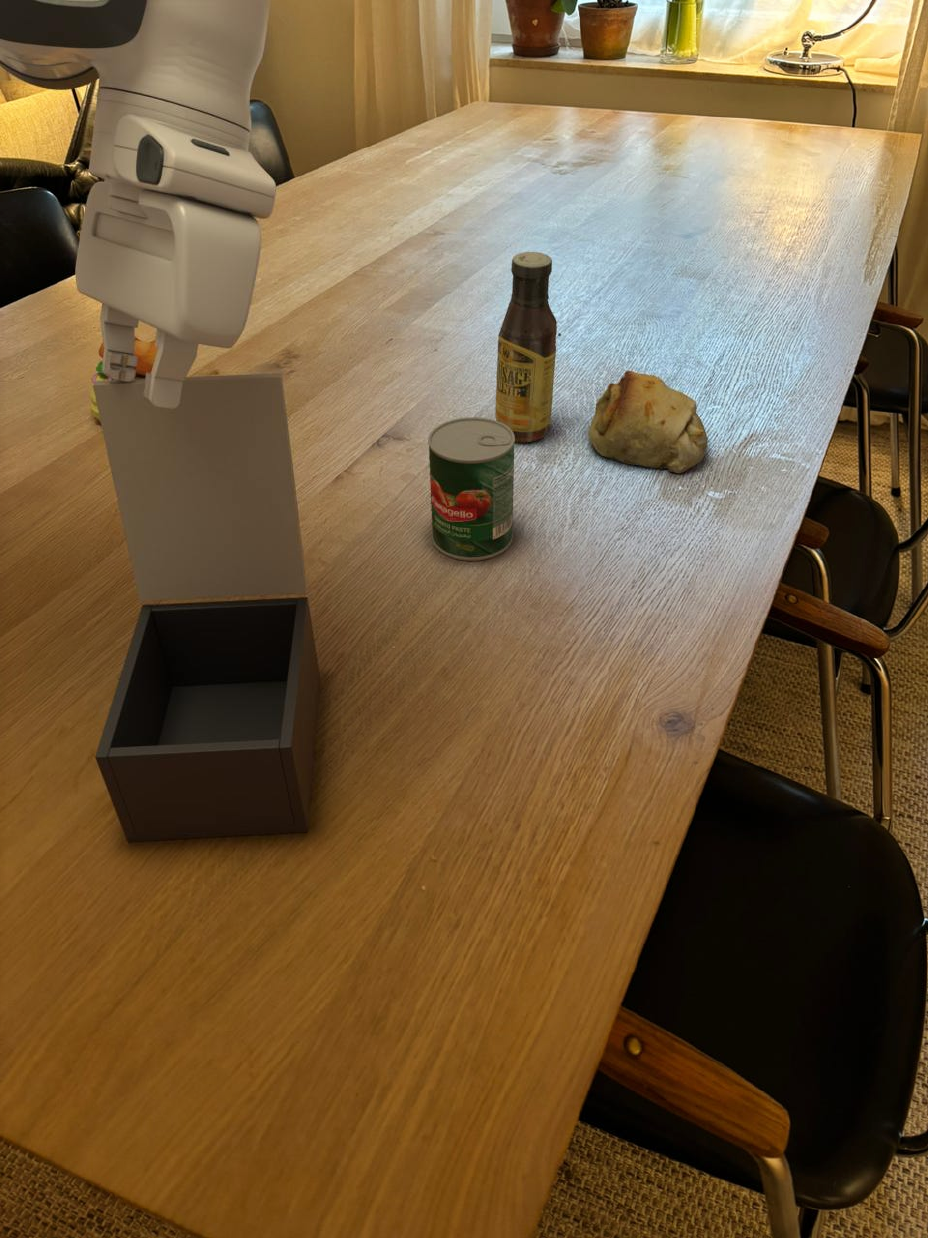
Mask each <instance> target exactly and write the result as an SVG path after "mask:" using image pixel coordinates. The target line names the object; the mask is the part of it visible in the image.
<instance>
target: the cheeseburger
mask: <svg viewBox="0 0 928 1238" xmlns="http://www.w3.org/2000/svg"><path fill="white" fill-rule="evenodd" d="M155 340H156V338H155V339H153V340H152V341H144V340H140V338H137V336H135V335H134V355H135V356H137V357H138V360H137V367H136V369H135V372H136V374H135V378H134V379H145V378H146V372H147V373H151V372H152V368H153V365H154V361H155V358H156V355H157V351H158V348H156V347H155ZM103 355H104V346H103V342H101V344H100V347H99V349H98V356H99V357H100V358H102V359H103ZM102 364H103V360H100V361H99V363H97V366H96V367H95V371H96V373H95V374H93V375H92V377H91V388H90V389H89V390H90V391H89V397H90V400H91V405H90V410H91V413H92V415H93V417H95V419H97V420H98V421H99V422H100V423H101V421H100V416H99V411H98V407H97V402H96V397H95V393H94V388H93V384H94V383H95V382H96V381H107V380H113V379H111V378H110V377H107V376H106V375H105V374H104V373H103V372H102Z"/></svg>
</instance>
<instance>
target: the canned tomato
mask: <svg viewBox="0 0 928 1238" xmlns="http://www.w3.org/2000/svg"><path fill="white" fill-rule="evenodd" d="M515 443H516V441H515V435H514V433H513V431H512V430H511V429H510V428H509V427H508V426H506V425H505V424H503V423H501V422H499V421H496V419H492V418H486V417H479V416H472V417H471V416H467V417H458V418H454V419H450V420H447V421H445V422H442V423H441V424H439V425H436V427H435V428H433V429H432V430H431V432H430V433H429V435H428V438H427V445H428V460H429V482H430V483H429V484H430V505H431V508H430V510H431V511H430V512H431V528H432V529H431V530H432V533H431V540H432V543H433V545H434V547H435V548H436V550H437V551H439V552H440V553H441V554H443V555H445V556H446V557H449V558H451V559H455V560H458V561H466V562H477V561H484V560H485V561H486V560H488V559H492V558H495V557H496V556H499V555H501V554H503V553H504V552H505V551H507V550H508V548H509V547H510V546H511V544H512V543H513V539H514V533H513V526H514V524H513V523H514V489H515V484H514V481H515V477H514V476H515Z"/></svg>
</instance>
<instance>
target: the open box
mask: <svg viewBox="0 0 928 1238" xmlns="http://www.w3.org/2000/svg"><path fill="white" fill-rule="evenodd" d="M319 668H320V667H319V661H318V655H317V649H316V641H315V635H314V629H313V623H312V616H311V610H310V604H309V598H308V597H307V596H298V597H281V598H279V597H278V598H261V599H260V598H258V599H257V598H256V599H238V600H237V599H236V600H235V599H234V600H219V601H218V600H217V601H216V600H215V601H196V602H176V603H158V604H156V603H155V604H149V603H147V604H142V605H141V607H140V612H139V614H138V617H137V621H136V624H135V628H134V630H133V634H132V637H131V640H130V643H129V647H128V650H127V653H126V657H125V660H124V663H123V666H122V669H121V673H120V675H119V679H118V682H117V684H116V685H117V686H116V689H115V692H114V695H113V699H112V702H111V704H110V708H109V711H108V714H107V717H106V721H105V724H104V727H103V729H102V732H101V733H102V734H101V738H100V740H99V744H98V747H97V750H96V753H95V756H94V758H95V761H96V763H97V766H98V768H99V769H98V770H99V771H100V774H101V777H102V779H103V781H104V784H105V787H106V789H107V792H108V795H109V798H110V800H111V803H112V805H113V808H114V811H115V813H116V816H117V819H118V821H119V823H120V826H121V829H122V831H123V834H124V837H125V839H126V842H128V843H132V842H133V843H134V842H135V843H136V842H152V841H153V842H154V841H170V840H188V839H191V840H192V839H203V838H204V839H205V838H206V839H208V838H224V837H245V836H261V835H262V836H263V835H280V834H282V835H283V834H296V833H297V834H298V833H300V834H301V833H308V831H309V821H310V812H311V811H310V810H311V797H312V788H313V787H312V785H313V775H314V774H313V773H314V762H315V750H316V738H317V727H318V715H319V702H320V691H321V673H320V669H319Z"/></svg>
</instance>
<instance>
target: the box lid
mask: <svg viewBox="0 0 928 1238" xmlns="http://www.w3.org/2000/svg"><path fill="white" fill-rule="evenodd" d="M283 381H284V380H283V374H282V373H281V372H279V373H253V374H229V375H227V374H226V375H208V376H207V375H206V376H186V378H185V380H184V381H183V384H182V391H181V397H180V403H179V405H178V407H176V408H174V409H169V408H162V407H156V406H154V405H153V404H151V403H149V402H148V401H147V400H146V399H145V398H144V395H143V393H144V389H145V379H134V380H133V381H131V382H124V381H117V380H107V381H96V382H95V383H94V384H93V388H94V393H95V397H96V402H97V407H98V411H99V416H100V421H101V422H100V421H99V422H100V425H101V429H102V434H103V439H104V444H105V448H106V454H107V457H108V462H109V466H110V471H111V476H112V481H113V486H114V490H115V495H116V499H117V505H118V509H119V514H120V518H121V519H120V520H121V522H122V523H121V524H122V527H123V528H122V529H123V533H124V537H125V541H126V547H127V552H128V556H129V561H130V565H131V570H132V574H133V579H134V584H135V589H136V595H137V598H138V602H158V601H159V602H160V601H177V600H178V601H179V600H180V601H181V600H200V599H201V600H202V599H222V598H223V599H224V598H242V597H244V598H245V597H263V596H283V595H285V596H286V595H287V596H288V595H304V594H307V591H308V582H307V581H308V580H307V574H306V564H305V555H304V548H303V540H302V539H303V538H302V532H301V523H300V516H299V506H298V499H297V489H296V481H295V472H294V465H293V456H292V448H291V440H290V439H291V438H290V431H289V422H288V421H289V420H288V414H287V406H286V398H285V389H284V382H283Z"/></svg>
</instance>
